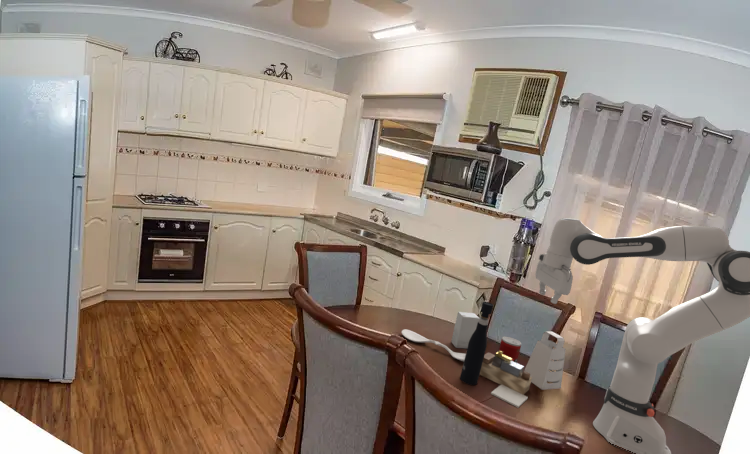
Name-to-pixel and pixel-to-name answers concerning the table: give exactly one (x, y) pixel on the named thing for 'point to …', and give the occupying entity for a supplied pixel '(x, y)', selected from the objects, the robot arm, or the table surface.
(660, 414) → the table surface
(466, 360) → the wine bottle
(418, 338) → the spoon
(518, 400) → the felt mat
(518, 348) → the canned food
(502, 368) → the grey metal block
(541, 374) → the grater
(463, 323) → the skincare box
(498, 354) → the latch bar
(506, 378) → the plane body
